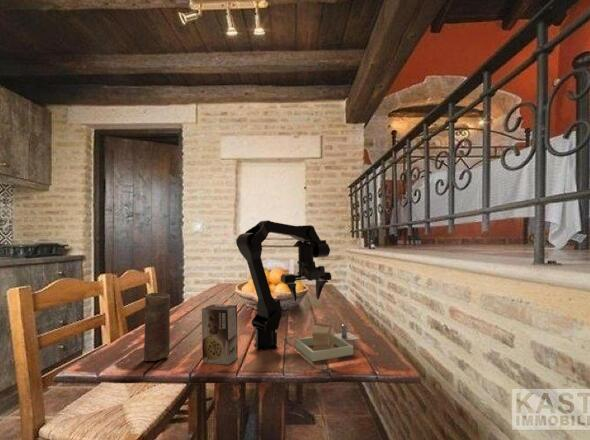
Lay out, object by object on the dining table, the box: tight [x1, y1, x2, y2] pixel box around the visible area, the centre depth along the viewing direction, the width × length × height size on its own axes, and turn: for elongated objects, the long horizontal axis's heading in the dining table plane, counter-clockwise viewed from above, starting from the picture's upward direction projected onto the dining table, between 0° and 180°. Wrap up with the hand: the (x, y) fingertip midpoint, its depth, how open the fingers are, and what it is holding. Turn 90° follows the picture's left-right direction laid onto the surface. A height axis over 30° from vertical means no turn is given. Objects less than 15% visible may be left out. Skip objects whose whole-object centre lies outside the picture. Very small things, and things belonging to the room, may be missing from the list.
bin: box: [295, 335, 354, 366], centre depth 106 cm, size 14×14×4 cm
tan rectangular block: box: [311, 322, 335, 351], centre depth 106 cm, size 5×5×8 cm
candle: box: [143, 292, 171, 362], centre depth 105 cm, size 8×7×20 cm
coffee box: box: [201, 304, 239, 365], centre depth 103 cm, size 9×6×16 cm
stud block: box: [334, 323, 360, 342], centre depth 120 cm, size 8×8×5 cm
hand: (306, 300), depth 126 cm, fingers open, 9 cm apart
